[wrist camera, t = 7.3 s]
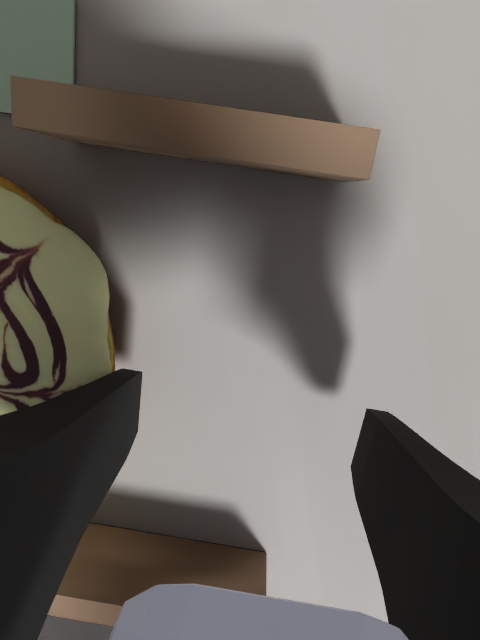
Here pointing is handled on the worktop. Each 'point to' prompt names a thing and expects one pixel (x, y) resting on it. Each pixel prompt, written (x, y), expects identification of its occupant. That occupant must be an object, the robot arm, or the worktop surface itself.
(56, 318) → the decorated donut
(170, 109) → the tunnel walls
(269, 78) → the worktop surface
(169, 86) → the worktop surface
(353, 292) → the worktop surface
